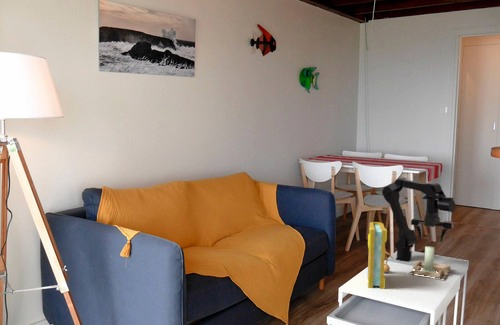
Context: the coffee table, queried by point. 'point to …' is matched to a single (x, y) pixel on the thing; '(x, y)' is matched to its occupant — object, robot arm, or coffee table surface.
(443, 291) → the coffee table surface
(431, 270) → the sage peg
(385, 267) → the figurine
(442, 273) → the keyhole board
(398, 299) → the coffee table surface
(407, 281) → the coffee table surface
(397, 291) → the coffee table surface
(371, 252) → the book
